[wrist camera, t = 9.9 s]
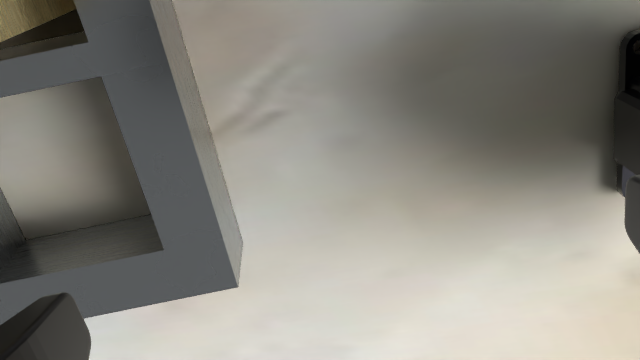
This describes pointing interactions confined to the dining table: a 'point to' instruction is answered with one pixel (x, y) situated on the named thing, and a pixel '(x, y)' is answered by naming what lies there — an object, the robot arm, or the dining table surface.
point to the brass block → (29, 14)
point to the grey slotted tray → (150, 165)
